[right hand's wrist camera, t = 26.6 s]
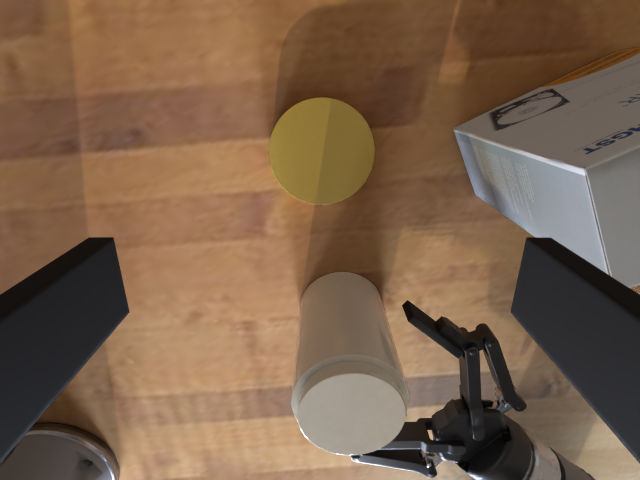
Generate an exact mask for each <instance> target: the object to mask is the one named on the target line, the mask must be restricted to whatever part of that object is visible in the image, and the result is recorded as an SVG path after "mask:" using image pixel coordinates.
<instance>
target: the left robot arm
mask: <svg viewBox="0 0 640 480" xmlns="http://www.w3.org/2000/svg"><path fill="white" fill-rule="evenodd" d="M402 306H403V309H404V312H405V314H406V317H407V320H408V322H410V323H411V324H412V325H414V326H415V327H416V328H418V329H419V330H421V331H422V332H423V333H425V334H426V335H427V336H429V337H430V338H431V339H433V340H434V341H435V342H437V343H438V344H439V345H441V346H442V347H443V348H445V349H446V350H447V351H449V352H450V353H451V354H453V355H454V356H455V357H457V358H459V364H460V380H461V385H460V399H457V400H455V401H454V400H453V399H452V400H451V401H449V402H448V403H447V404H446V406H445V407H444V408H443V409H442V410H440V411H438V412H436V413H435V414H434V415H432V418H420V419H418V421H417V422H404V425H403V427H402V429H401V431H400V432H399V434H398V435H397V436H396V437H395V438H394V439H393V440H392V441H391V442H390V443H388V444H387V445H386V446H384V447H382V448H380V449H378V450H376V451H373V452H370V453H366V454H361V455H351V459H352V460H353V461H355V462H361V463H367V464H373V465H379V466H385V467H392V468H398V469H404V470H410V471H416V472H418V473H420V474H422V475H425V476H427V477H429V478H433V477H435V476H436V475H437V471H436V468H435V467H436V466H437V465H438V464H439V463H440V462H441V461H442V460H446V461H452V462H455V463H456V464H457V465H458V466H459V467H460V468H461V469H462V470H463V471H464V472H466V473H467V474H468V475H470V476H471V477H473V478H474V479H476V480H595V479H594V478H593V477H592V476H591V475H590V474H588V473H586V472H585V471H584V470H583V469H581V468H579V467H578V466H575V465H574V464H573V463H571V462H570V461H568V460H567V459H565V458H564V457H563V456H561V455H560V454H558V453H557V452H555V451H554V450H553V449H551V448H550V447H548V446H547V445H546V444H545V443H543V442H542V441H540V440H539V439H538V438H536V437H535V436H533V435H532V434H531V433H529V432H528V431H527V430H525V429H524V428H522V427H521V426H520V425H519V424H517V423H516V422H514V421H513V420H512V419H510V418H509V417H508V416H506V415H505V414H504V413H505V412H507V411H508V410H510V409H511V408H514V409H515V410H516V411H523V410H524V409H526V403H525V402H524V400H523V399H522V397H521V396H520V394H519V393H518V391H517V390H516V388H515V387H514V385H513V383H512V380H511V377H510V374H509V371H508V369H507V366H506V363H505V360H504V357H503V354H502V351H501V348H500V345H499V342H498V340H497V339H496V337H495V336H494V334H493V333H492V331H491V330H490V329H489V327H488V326H487V325H486V324H479V325H478V326H477V327H476V330H474V331H472V332H468V331H467V329H466V328H463V327H461V328H459V327H458V326H457V325H455V324H454V323H453V322H451V321H450V320H449V319H448V318H445V317H442V316H441V317H440V318H439V319H438V320H437V321H434V320H433V319H432V318H430V317H429V316H428V315H426V314H425V313H424V312H422V311H421V310H420V309H419V308H417V307H416V306H415V305H413V304H412V303H411V302H409V301H408V300H407V301H406V302H405V303H404V304H403V305H402ZM482 349H483V352H484V355H485V357H486V360H487V363H488V366H489V369H490V371H491V374H492V377H493V379H494V381H495V383H496V385H497V387H495V390H496V392H495V396H496V400H495V401H494V402H493V401H491V400H481V382H480V356H479V351H480V350H482ZM427 430H432V434H433V439H434V440H431V439H430V438H429V435H428V431H427Z"/></svg>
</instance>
